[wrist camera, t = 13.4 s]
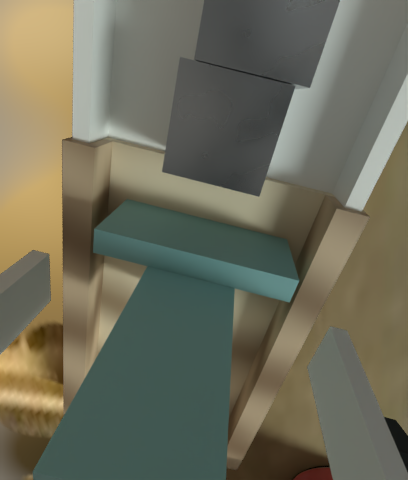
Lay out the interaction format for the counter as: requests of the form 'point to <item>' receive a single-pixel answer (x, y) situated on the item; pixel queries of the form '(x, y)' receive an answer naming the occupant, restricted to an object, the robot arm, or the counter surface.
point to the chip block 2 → (224, 126)
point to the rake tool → (166, 350)
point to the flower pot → (315, 474)
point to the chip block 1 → (266, 37)
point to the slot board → (245, 303)
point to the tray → (301, 105)
